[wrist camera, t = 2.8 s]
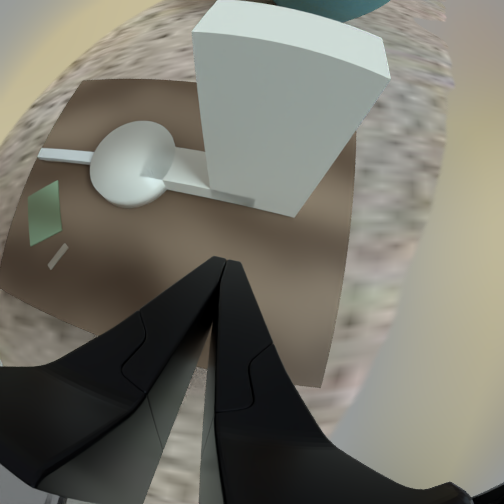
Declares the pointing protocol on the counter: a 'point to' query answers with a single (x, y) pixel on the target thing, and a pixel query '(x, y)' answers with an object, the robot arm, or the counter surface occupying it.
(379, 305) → the counter surface
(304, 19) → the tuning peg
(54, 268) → the dial board
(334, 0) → the teal bowl
